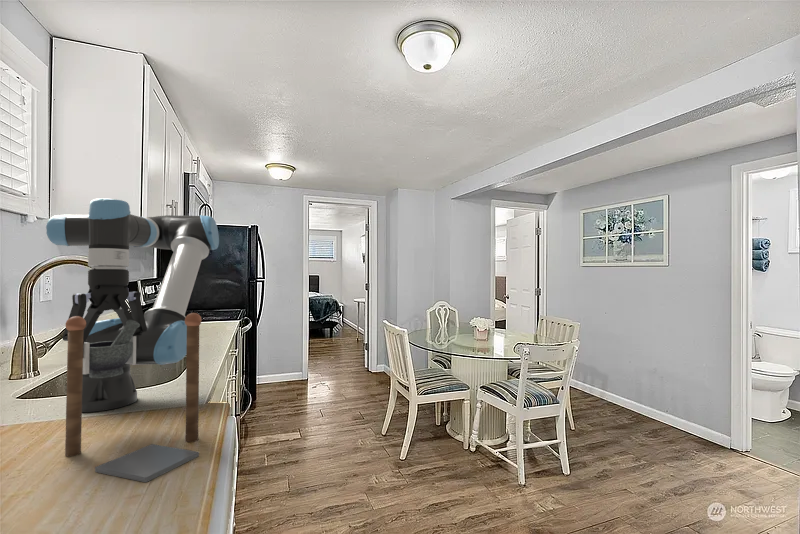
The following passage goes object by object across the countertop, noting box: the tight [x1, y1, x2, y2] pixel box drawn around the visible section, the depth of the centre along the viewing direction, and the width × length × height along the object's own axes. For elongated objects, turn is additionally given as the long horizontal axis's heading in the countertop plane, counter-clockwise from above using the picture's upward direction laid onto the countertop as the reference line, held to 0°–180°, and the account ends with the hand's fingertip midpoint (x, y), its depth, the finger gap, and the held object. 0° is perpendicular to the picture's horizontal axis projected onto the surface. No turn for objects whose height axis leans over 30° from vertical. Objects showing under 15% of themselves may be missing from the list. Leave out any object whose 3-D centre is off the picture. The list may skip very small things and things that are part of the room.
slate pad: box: [94, 443, 200, 483], centre depth 76 cm, size 11×12×1 cm
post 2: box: [184, 312, 202, 443], centre depth 88 cm, size 3×3×26 cm
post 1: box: [64, 316, 86, 457], centre depth 81 cm, size 3×3×26 cm
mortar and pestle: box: [89, 320, 140, 378], centre depth 94 cm, size 11×9×12 cm
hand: (107, 368), depth 93 cm, fingers closed on mortar and pestle, 10 cm apart
